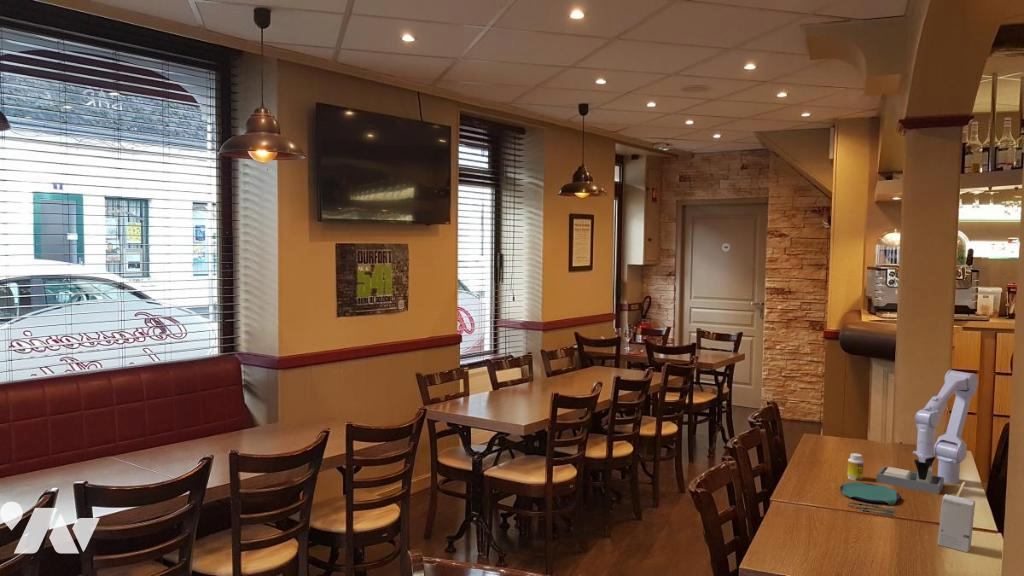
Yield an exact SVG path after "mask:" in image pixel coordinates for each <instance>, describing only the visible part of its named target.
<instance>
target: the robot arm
mask: <svg viewBox="0 0 1024 576" xmlns="http://www.w3.org/2000/svg"><path fill="white" fill-rule="evenodd" d="M943 381H944V384H943V386H942V387H941V389H940V391H939V392H938V394H937V395H933V396H932V397H931V399H929V401H928V402H927V403H926V404H925V406H924V408H922V409H919V410H917V412H916V413H915V416H914V420H915V421H914V422H915V423H916V424H915V425H916V429H917V440H916V450H913V451H912V454H914V455H916V456H917V457H918V459H914V460H913V462H914V464H915V466H916V471H917V470H918V476H919V479H922V480H926V477H927V473H928V469H929V467H930V465H931V466H933V463H934V460H935V459H937V460H938V465H937V476H938V477H944V484H952V485H957V484H959V483H960V470H961V469H960V468H961V463H962V462H964V460H965V459H966V458H967V446H968V444H966V442H965V441H964V439H962V435H963V432H964V427H965V424H966V420H967V415H968V413H969V410H970V409H969V408H970V406H971V405H970V404H971V402H972V397H975V396H976V393H977V389H978V386H979V379H978V376H977V374H975V373H974V372H971V373H970V372H964V371H957V370H953V369H949V370H947V372H946V373H945V375H944V380H943ZM953 395H955V398H954V402H953V406H952V410H951V413H950V417H949V421H948V424H947V428H946V432H945V434H944V433H943V434H942V435H940V436H938V438H937V440H936V439H935V438H936V427H937V426H938V425H939V424H940V420H941V417H942V414H943V412H944V411H945V409H946V408H947V407H948V403H947V401H949V400H950V398H951V397H952V396H953Z"/></svg>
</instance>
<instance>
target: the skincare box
mask: <svg viewBox="0 0 1024 576" xmlns="http://www.w3.org/2000/svg"><path fill="white" fill-rule="evenodd" d="M975 508H976V500H972V499H969V498H964V497H960V496H957V495H956V496H955V495H951V494H947V493H946V494H944V495H943V496H942V500H941V509H940V519H939V529H938V536H937V537H938V538H937V545H938V546H940V547H944V548H948V549H953V550H957V551H961V552H965V553H968V552H969V551H970V549H971V547H972V537H973V530H974V529H973V527H974V519H975Z"/></svg>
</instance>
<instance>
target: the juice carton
mask: <svg viewBox="0 0 1024 576" xmlns="http://www.w3.org/2000/svg"><path fill="white" fill-rule="evenodd" d="M916 472H917V481H919V482H925V483H930V484H931V483H932V475H933V465H932V466H931V465H930V467H929V469H928V473H927V477H926V480H922V479H919V476H918V470H917V469H916Z"/></svg>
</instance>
